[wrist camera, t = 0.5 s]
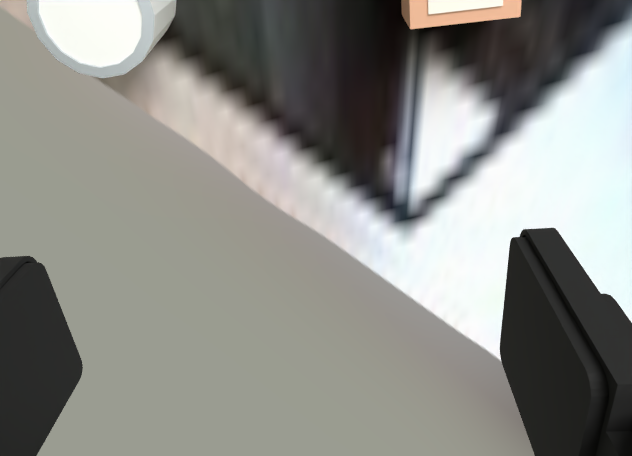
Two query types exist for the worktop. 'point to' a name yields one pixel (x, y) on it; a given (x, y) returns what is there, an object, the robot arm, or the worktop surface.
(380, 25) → the worktop surface
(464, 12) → the cardboard box
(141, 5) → the shot glass
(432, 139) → the worktop surface
